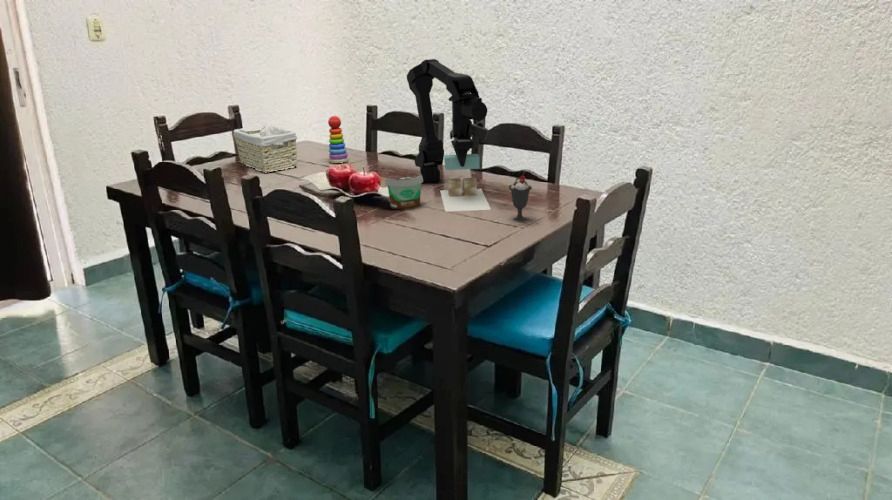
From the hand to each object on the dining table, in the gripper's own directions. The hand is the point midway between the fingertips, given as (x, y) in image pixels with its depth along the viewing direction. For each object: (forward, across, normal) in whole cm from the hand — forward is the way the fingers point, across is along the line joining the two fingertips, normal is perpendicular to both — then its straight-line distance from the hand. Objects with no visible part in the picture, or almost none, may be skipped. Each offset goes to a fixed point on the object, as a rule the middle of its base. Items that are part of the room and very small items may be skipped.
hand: (461, 164), depth 212 cm
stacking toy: (+11, +56, +45) cm, 73 cm away
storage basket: (+11, +53, +73) cm, 91 cm away
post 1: (+10, 0, +2) cm, 10 cm away
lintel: (+1, 0, 0) cm, 1 cm away
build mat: (+10, -6, 0) cm, 12 cm away
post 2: (+10, 0, -3) cm, 10 cm away
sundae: (+10, -29, -14) cm, 34 cm away
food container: (+10, -12, +18) cm, 24 cm away
